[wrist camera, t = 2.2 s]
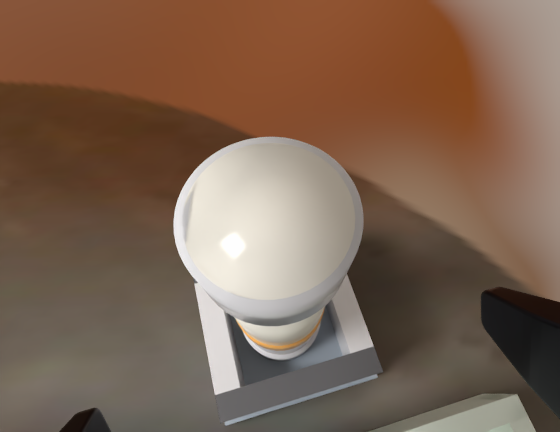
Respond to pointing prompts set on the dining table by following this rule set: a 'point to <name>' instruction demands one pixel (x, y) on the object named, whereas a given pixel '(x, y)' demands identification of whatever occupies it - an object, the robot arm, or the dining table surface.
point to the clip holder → (290, 374)
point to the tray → (470, 417)
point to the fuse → (270, 238)
